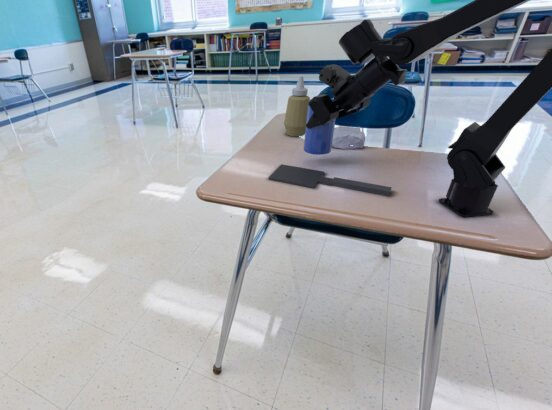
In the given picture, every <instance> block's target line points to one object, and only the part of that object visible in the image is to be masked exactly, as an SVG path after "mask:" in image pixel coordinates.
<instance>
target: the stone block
mask: <svg viewBox="0 0 552 410" xmlns="http://www.w3.org/2000/svg"><path fill="white" fill-rule="evenodd" d="M365 141H366V134H365V132H364V131H362V130H361V127H360V126H358V127H357V126H356V127H355V126H347V125H346V126H344V125H341V126H340V125H339V126H335V127H334V134H333V141H332V147H331V148H335V149H336V148H337V149H341V150H359V149H360V150H362V149H364V146H365ZM350 145H353V146H350Z"/></svg>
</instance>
